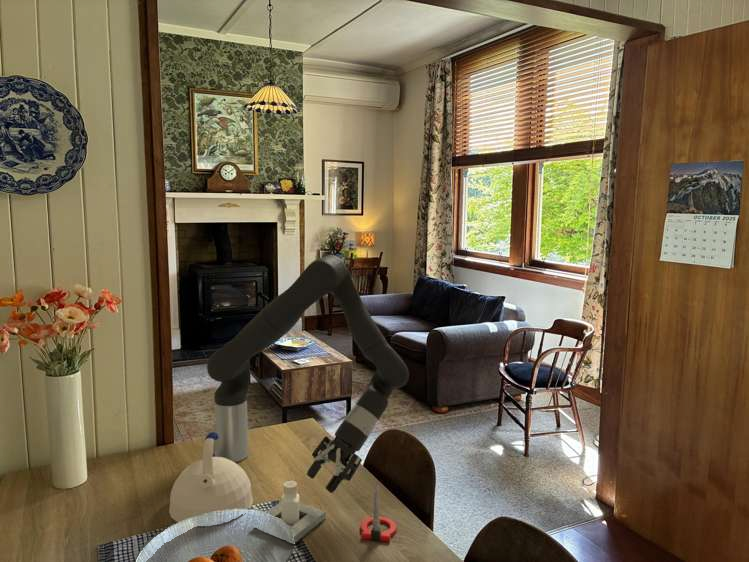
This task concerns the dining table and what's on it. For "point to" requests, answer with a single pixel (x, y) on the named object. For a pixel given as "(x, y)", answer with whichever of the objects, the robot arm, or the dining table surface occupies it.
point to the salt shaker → (290, 503)
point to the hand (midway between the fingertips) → (318, 483)
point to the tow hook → (377, 524)
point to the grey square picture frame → (302, 519)
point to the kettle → (209, 485)
